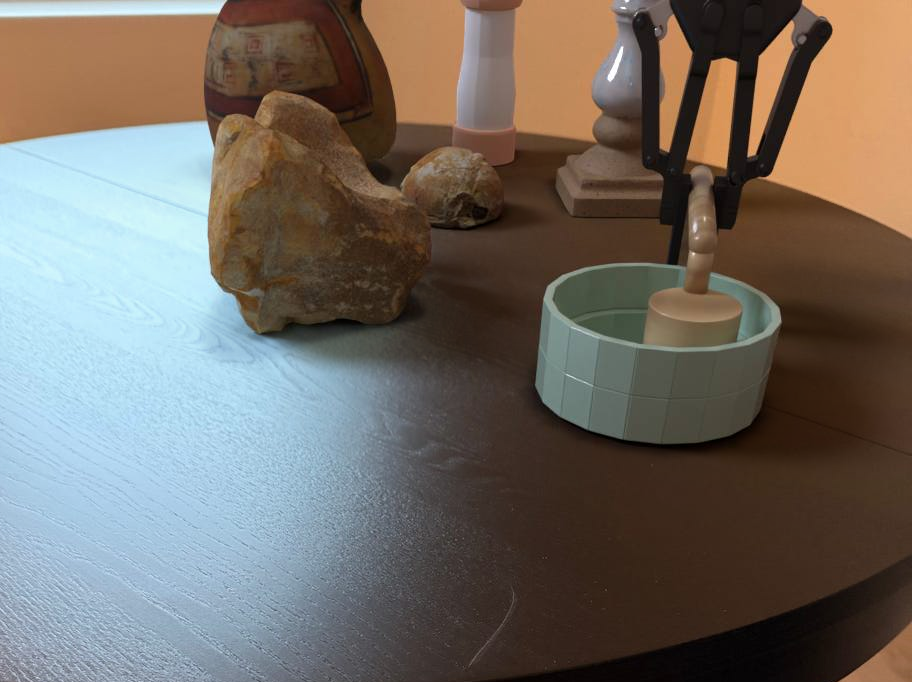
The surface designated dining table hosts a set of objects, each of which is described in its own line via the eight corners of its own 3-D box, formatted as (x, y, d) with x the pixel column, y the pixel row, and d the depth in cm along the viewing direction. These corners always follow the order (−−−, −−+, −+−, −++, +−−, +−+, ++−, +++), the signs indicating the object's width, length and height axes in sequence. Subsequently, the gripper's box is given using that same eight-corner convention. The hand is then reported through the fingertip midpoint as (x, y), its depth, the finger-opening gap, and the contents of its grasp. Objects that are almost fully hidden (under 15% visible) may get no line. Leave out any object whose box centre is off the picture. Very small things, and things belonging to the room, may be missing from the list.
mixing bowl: (752, 368, 76) (774, 273, 72) (762, 467, 65) (789, 362, 60) (548, 347, 79) (557, 254, 74) (522, 440, 67) (531, 336, 62)
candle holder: (653, 186, 113) (693, -79, 98) (677, 217, 104) (725, -68, 89) (553, 185, 112) (578, -82, 97) (570, 217, 104) (601, -71, 89)
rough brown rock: (412, 385, 75) (436, 164, 66) (184, 355, 74) (176, 129, 65) (432, 280, 93) (452, 97, 84) (249, 256, 93) (250, 70, 84)
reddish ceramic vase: (210, 151, 120) (176, -178, 101) (382, 148, 123) (380, -172, 104) (213, 202, 105) (174, -173, 86) (409, 196, 108) (413, -167, 89)
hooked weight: (730, 399, 67) (758, 261, 61) (636, 391, 68) (656, 254, 62) (721, 281, 84) (742, 164, 78) (646, 276, 85) (662, 160, 79)
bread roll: (427, 268, 101) (450, 200, 95) (374, 197, 104) (393, 126, 98) (504, 250, 106) (532, 184, 99) (452, 183, 109) (475, 114, 102)
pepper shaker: (492, 147, 124) (503, -43, 112) (526, 162, 119) (541, -35, 107) (440, 153, 121) (445, -41, 109) (472, 169, 117) (481, -32, 105)
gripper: (869, -110, 66) (783, 261, 81) (635, -118, 68) (593, 246, 83) (887, -103, 60) (791, 295, 75) (631, -111, 62) (586, 278, 77)
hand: (687, 269), depth 79 cm, fingers closed on hooked weight, 2 cm apart
